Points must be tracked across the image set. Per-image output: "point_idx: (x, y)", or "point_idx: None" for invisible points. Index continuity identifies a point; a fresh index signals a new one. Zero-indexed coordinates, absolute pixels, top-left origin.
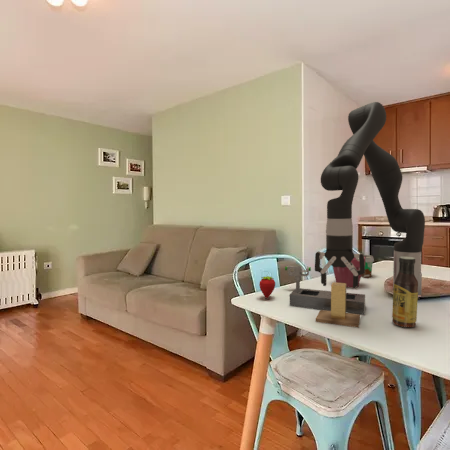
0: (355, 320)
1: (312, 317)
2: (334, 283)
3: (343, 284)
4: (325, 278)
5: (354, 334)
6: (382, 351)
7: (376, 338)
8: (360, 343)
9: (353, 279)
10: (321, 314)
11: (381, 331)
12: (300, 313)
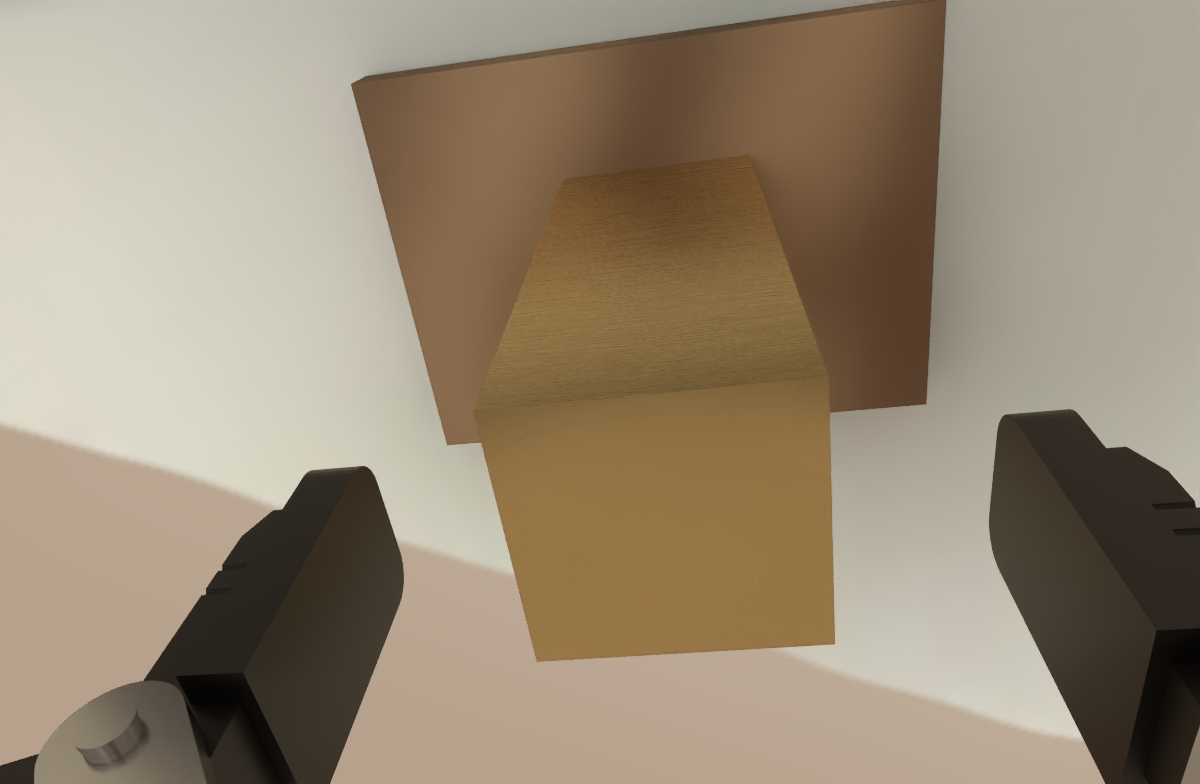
0: (886, 299)
1: (365, 309)
2: (553, 511)
3: (772, 516)
4: (351, 715)
5: (880, 559)
6: None
7: None
8: (934, 693)
9: (1086, 720)
10: (448, 283)
11: (1161, 378)
12: (174, 239)
